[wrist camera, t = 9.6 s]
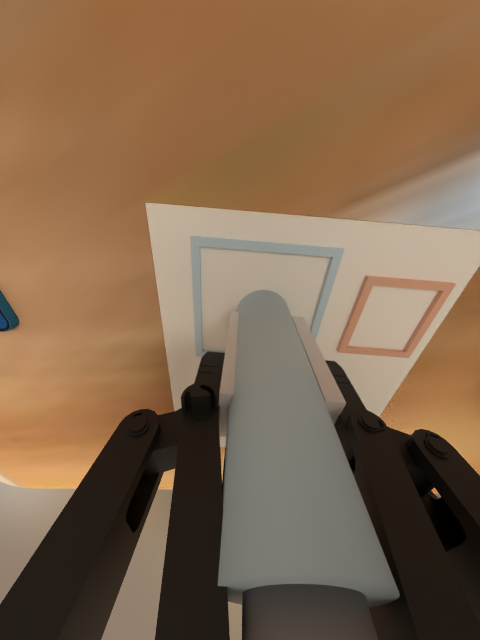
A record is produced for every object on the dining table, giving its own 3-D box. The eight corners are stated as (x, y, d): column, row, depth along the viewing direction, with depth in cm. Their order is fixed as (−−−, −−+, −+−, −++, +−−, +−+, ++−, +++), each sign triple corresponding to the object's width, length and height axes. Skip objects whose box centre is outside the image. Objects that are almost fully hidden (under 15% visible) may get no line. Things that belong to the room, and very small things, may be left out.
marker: (238, 288, 14) (202, 670, 2) (292, 291, 14) (493, 688, 2) (236, 333, 15) (207, 670, 4) (283, 336, 15) (377, 680, 4)
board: (152, 202, 12) (114, 202, 9) (483, 230, 12) (575, 241, 9) (181, 435, 24) (170, 474, 21) (348, 448, 24) (365, 489, 21)
